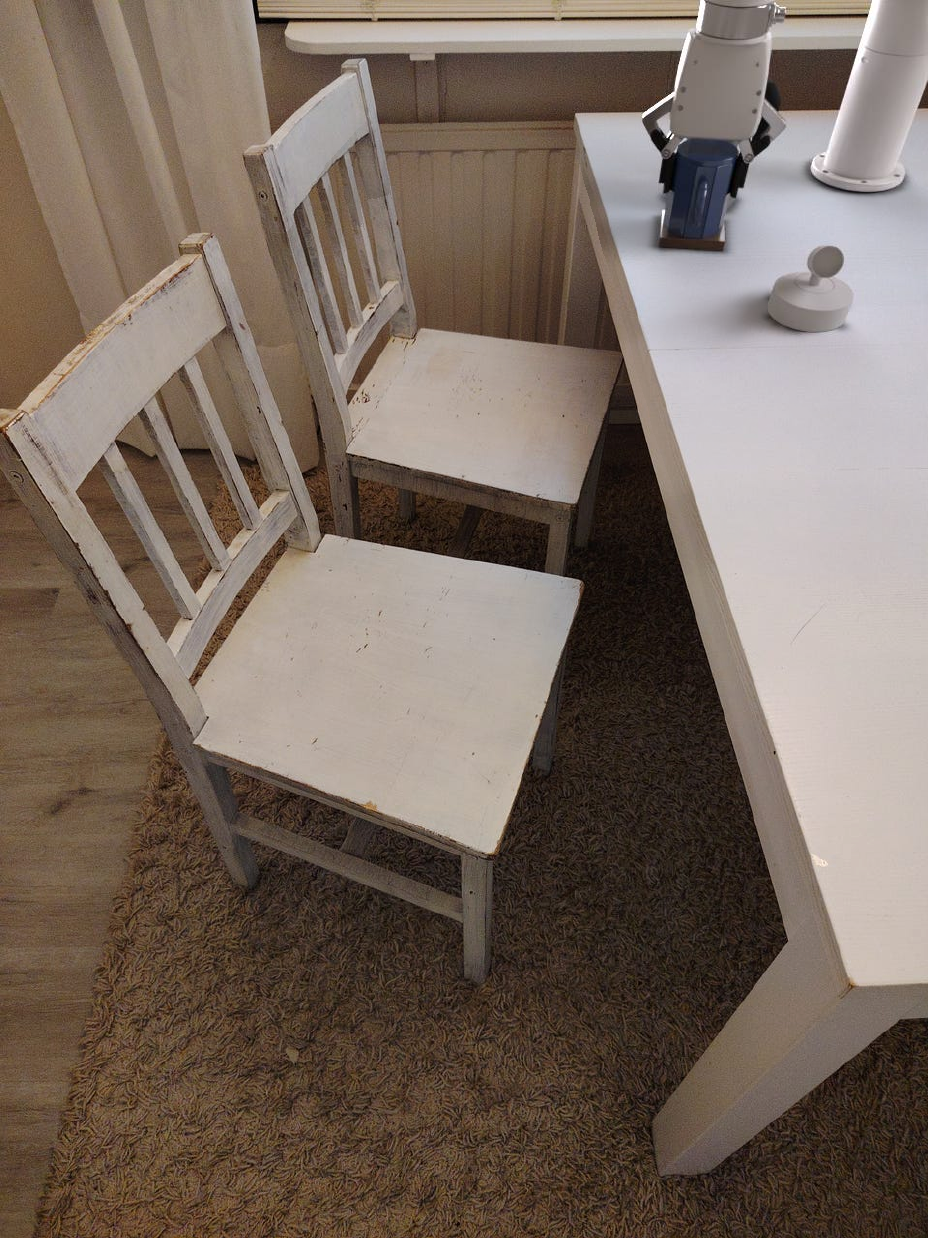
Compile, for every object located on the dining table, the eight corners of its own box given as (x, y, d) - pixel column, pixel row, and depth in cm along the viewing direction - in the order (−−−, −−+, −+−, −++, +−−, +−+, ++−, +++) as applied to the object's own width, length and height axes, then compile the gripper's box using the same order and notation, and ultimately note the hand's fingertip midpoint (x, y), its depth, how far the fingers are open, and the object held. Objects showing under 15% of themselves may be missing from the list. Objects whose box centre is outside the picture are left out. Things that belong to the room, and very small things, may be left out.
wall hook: (788, 245, 81) (795, 204, 87) (762, 331, 88) (771, 287, 94) (877, 257, 79) (878, 214, 85) (843, 343, 86) (847, 298, 92)
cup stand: (660, 218, 106) (673, 145, 99) (722, 222, 105) (738, 148, 98) (658, 246, 101) (671, 171, 94) (723, 250, 100) (740, 175, 93)
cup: (663, 211, 105) (676, 136, 98) (721, 214, 104) (738, 139, 97) (661, 243, 99) (674, 166, 92) (722, 247, 98) (740, 169, 91)
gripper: (814, 11, 87) (769, 182, 100) (653, 6, 89) (630, 174, 102) (820, 32, 82) (772, 208, 96) (650, 26, 84) (627, 199, 98)
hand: (699, 190), depth 99 cm, fingers closed on cup, 7 cm apart
